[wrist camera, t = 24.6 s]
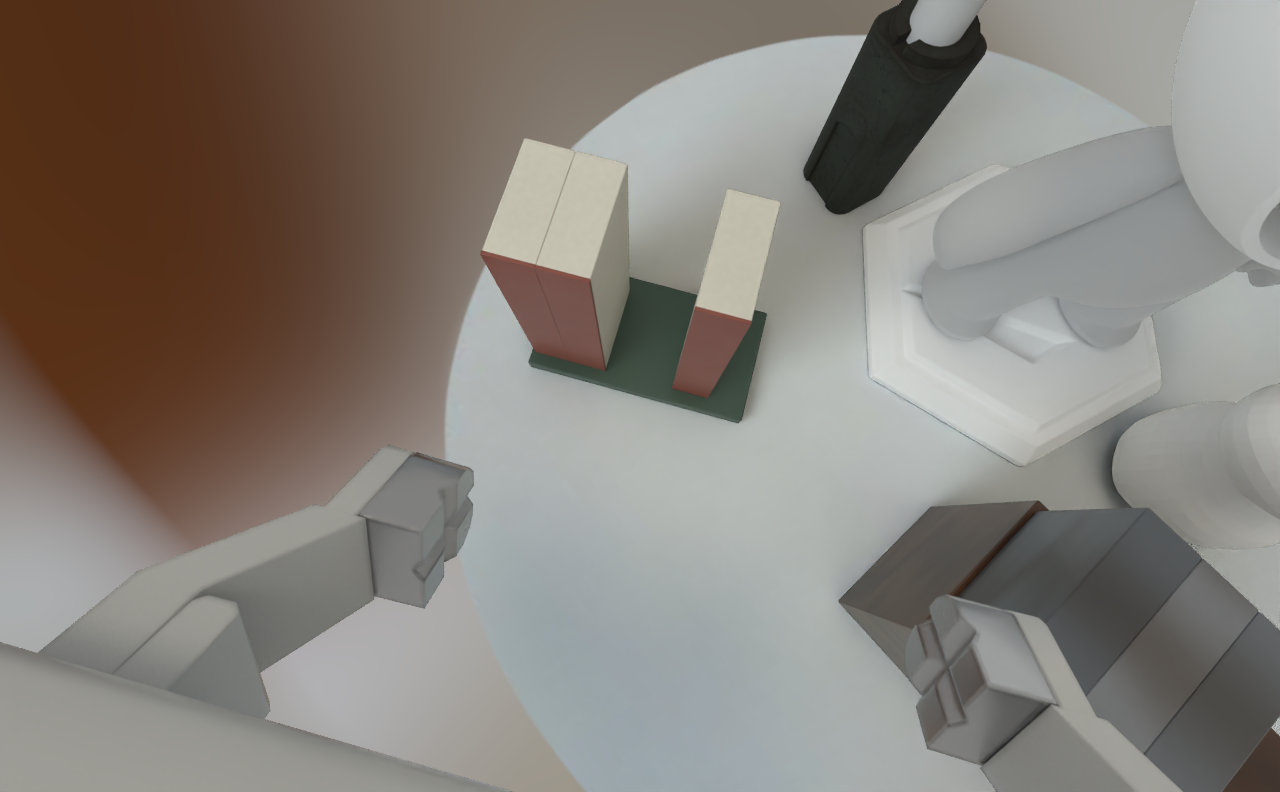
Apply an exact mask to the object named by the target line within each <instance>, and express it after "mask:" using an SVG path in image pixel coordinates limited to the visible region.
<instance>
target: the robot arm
mask: <svg viewBox="0 0 1280 792" xmlns="http://www.w3.org/2000/svg"><path fill="white" fill-rule="evenodd" d="M473 486H474V471H473V470H472V469H471V468H469V467H465V466H462V465H458V464H455V463H452V462H448V461H445V460H441V459H438V458H435V457H431V456H428V455H424V454H421V453H415V452H412V451H408V450H405V449H401V448H398V447H395V446H391V445H388V446H386V447H383V448H381V449H380V450H379V451H378V452H377V453H376V454H375V455H374V456H373V457H372V458H371V459H370V460H369V461H368V462H367V463H366V464H365V465H364V466H363V467H362V468H361V469H360V470H359V471H358V472H357V473H356V474H355V475H354V476H353V478H351V480H349V481H348V482H347V484H346V485H345V486H344V487H343V488H342V489H341V490H340V491H339V492H338V493H337V494H336V495H335V496H334V497H333V498H332V499H331V500H330V501H329V502H328V503H327V504H326V505H325V506H320V505H316V504H315V505H312V506H310V507H307V508H304V509H302V510H299V511H297V512H294V513H291V514H288V515H286V516H283V517H280V518H278V519H275V520H272V521H270V522H267V523H265V524H262V525H259V526H256V527H254V528H252V529H249V530H246V531H243V532H240V533H238V534H235V535H232V536H230V537H227V538H224V539H222V540H219V541H216V542H214V543H211V544H208V545H206V546H203V547H200V548H198V549H195V550H193V551H190V552H187V553H185V554H182V555H179V556H177V557H174V558H171V559H169V560H166V561H163V562H161V563H158V564H155V565H153V566H150V567H147V568H145V569H142V570H140V571H137V572H136V573H135V574H133V575H132V576H131V577H130V578H128V579H127V580H126V581H125V582H124V583H122V584H121V585H120V586H119V587H117V588H116V589H115V590H114V591H113V592H111V593H110V594H109V595H108V596H107V597H105V598H104V599H103V600H102V601H100V602H99V603H98V604H97V605H96V606H94V607H93V608H92V609H91V610H89V611H88V612H87V613H86V614H85V615H83V616H82V617H81V618H80V619H78V620H77V621H76V622H75V623H74V624H72V625H71V626H70V627H69V628H67V629H66V630H65V631H64V632H63V633H61V634H60V635H59V636H58V637H56V638H55V639H54V640H53V641H52V642H50V643H49V644H48V645H47V646H46V647H44V648H43V649H42V650H41V651H39V652H38V653H35V652H32V651H29V650H25V649H22V648H19V647H15V646H12V645H8V644H4V643H2V642H0V792H513V791H509V790H506V789H503V788H499V787H496V786H492V785H489V784H486V783H482V782H479V781H475V780H471V779H468V778H465V777H461V776H458V775H455V774H451V773H448V772H444V771H441V770H437V769H434V768H431V767H427V766H424V765H420V764H417V763H413V762H410V761H406V760H403V759H400V758H396V757H392V756H389V755H386V754H382V753H379V752H376V751H372V750H369V749H365V748H362V747H358V746H355V745H352V744H348V743H344V742H341V741H338V740H334V739H331V738H328V737H324V736H321V735H317V734H313V733H310V732H307V731H303V730H300V729H297V728H293V727H290V726H286V725H283V724H280V723H276V722H273V721H269V720H266V719H265V717H266V716H267V714H268V713H269V712H270V704H269V698H268V695H267V693H266V690H265V687H264V684H263V680H262V677H261V675H260V672H262V671H263V670H265V669H266V668H268V667H269V666H271V665H273V664H274V663H276V662H277V661H279V660H281V659H282V658H283V657H285V656H287V655H288V654H290V653H291V652H293V651H295V650H296V649H298V648H299V647H301V646H302V645H304V644H305V643H307V642H309V641H310V640H312V639H313V638H315V637H316V636H318V635H319V634H321V633H322V632H324V631H326V630H327V629H329V628H330V627H332V626H334V625H335V624H337V623H338V622H340V621H341V620H343V619H344V618H346V617H347V616H349V615H351V614H352V613H354V612H355V611H357V610H358V609H360V608H362V607H363V606H365V605H366V604H368V603H369V602H371V601H372V600H374V596H376V597H380V598H384V599H388V600H392V601H396V602H400V603H404V604H408V605H412V606H416V607H420V608H425V607H426V605H427V604H428V602H429V600H430V599H431V597H432V595H433V594H434V592H435V590H436V589H437V587H438V586H439V584H440V582H441V581H442V579H443V577H444V562H446V561H448V560H449V559H451V558H453V557H455V556H457V554H458V552H459V550H460V549H461V547H462V545H463V543H464V541H465V539H466V536H467V533H468V531H469V528H470V524H471V519H472V515H473V504H472V502H471V501H470V499H469V498H468V496H467V495H468V494H469V492H470V491H471V489H472V487H473ZM929 610H930V613H931V617H932V618H930V619H927V620H925V621H922V622H919V623H917V624H916V625H915V627H914V628H913V630H912V631H911V633H910V634H909V636H908V639H907V643H906V648H905V666H906V670H907V674H908V678H909V681H910V682H911V683H912V684H913V686H914V687H915V688H916V689H917V691H918V692H919V693H920V694H921V695H922V696H921V698H920V700H919V702H918V704H917V705H916V709H917V713H918V716H919V720H920V724H921V727H922V731H923V735H924V739H925V742H926V746H927V749H930V750H933V751H936V752H939V753H943V754H946V755H949V756H952V757H956V758H959V759H962V760H965V761H969V762H972V763H975V764H978V765H982V767H981V770H982V771H983V773H984V774H985V775H986V777H987V778H988V780H989V781H990V783H991V784H992V785H993V787H994V788H995V790H996V791H997V792H1183V791H1182V790H1181V789H1180V788H1179V787H1178V786H1177V785H1176V784H1174V783H1173V782H1172V781H1171V780H1170V779H1169V778H1168V777H1167V776H1166V775H1165V774H1164V773H1163V772H1162V771H1161V770H1160V769H1159V768H1158V767H1156V766H1155V765H1154V764H1153V763H1152V762H1151V761H1150V760H1149V759H1148V758H1147V757H1146V756H1145V755H1144V754H1143V753H1142V752H1141V751H1139V750H1138V749H1137V748H1136V747H1135V746H1134V745H1133V744H1132V743H1131V742H1130V741H1129V740H1128V739H1127V738H1126V737H1125V736H1124V735H1122V734H1121V733H1120V732H1119V731H1118V730H1117V729H1116V728H1115V727H1114V726H1113V725H1112V724H1111V723H1110V722H1109V721H1108V720H1105V719H1102V718H1098V717H1097V716H1096V715H1095V713H1094V711H1093V709H1092V707H1091V705H1090V704H1089V702H1088V700H1087V698H1086V696H1085V694H1084V692H1083V691H1082V689H1081V687H1080V685H1079V683H1078V681H1077V680H1076V678H1075V676H1074V674H1073V672H1072V670H1071V669H1070V667H1069V665H1068V663H1067V661H1066V659H1065V657H1064V656H1063V654H1062V652H1061V650H1060V648H1059V646H1058V645H1057V643H1056V641H1055V639H1054V637H1053V635H1052V633H1051V632H1050V630H1049V628H1048V626H1047V625H1046V624H1045V623H1044V622H1043V621H1042V620H1041V619H1039V618H1038V617H1034V616H1030V615H1026V614H1022V613H1018V612H1014V611H1010V610H1004V609H1001V608H998V607H994V606H990V605H986V604H982V603H978V602H974V601H970V600H967V599H963V598H959V597H955V596H951V595H947V594H943V595H941V596H939V597H937V598H936V599H935V600H934V601H933V603H932V604H931V605H930V606H929Z"/></svg>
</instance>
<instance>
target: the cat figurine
mask: <svg viewBox="0 0 1280 792" xmlns="http://www.w3.org/2000/svg"><path fill="white" fill-rule="evenodd" d="M1112 475H1113V482H1114V484H1115V487H1116V489H1117V491H1118V493H1119V494H1120V495H1121V496H1122V497H1123V499H1124V500H1125V501H1126V502H1127V503H1128V504H1129V505H1130V506H1131V507H1133V508H1150V509H1151V510H1152V511H1153V512H1154V513H1155V514H1156V515H1158V516H1159V517H1160V518H1161V519H1162V520H1163V521H1164V522H1165V523H1166V524H1167V525H1168V526H1169V527H1170V528H1171V529H1172V530H1174V531H1175V532H1176V533H1177V534H1178V535H1179V536H1180V537H1181V538H1182V539H1183V540H1184V541H1185V542H1188V543H1191V544H1195V545H1199V546H1203V547H1209V548H1225V549H1245V548H1258V547H1267V546H1271V545H1275V544H1278V543H1280V383H1278V384H1275V385H1271V386H1267V387H1265V388H1262V389H1260V390H1258V391H1256V392H1254V393H1252V394H1250V395H1249V396H1247V397H1245V398H1244V399H1242V400H1241V401H1239V402H1238V403H1236V402H1227V401H1218V402H1202V403H1194V404H1189V405H1185V406H1180V407H1176V408H1171V409H1167V410H1163V411H1160V412H1157V413H1155V414H1152V415H1150V416H1147V417H1145V418H1143V419H1141V420H1139V421H1137V422H1135V423H1134V424H1133V425H1132V426H1130V427H1129V428H1128V429H1127V430H1126V431H1125V432H1124V433H1123V434H1122V436H1121V437H1120V439H1119V441H1118V443H1117V446H1116V449H1115V453H1114V457H1113V464H1112Z"/></svg>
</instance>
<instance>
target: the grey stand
mask: <svg viewBox="0 0 1280 792" xmlns="http://www.w3.org/2000/svg"><path fill="white" fill-rule="evenodd" d="M1201 558H1202V557H1201V556H1200V555H1199V554H1198V553H1197V552H1196V551H1195V550H1194V549H1193V548H1192V547H1191V546H1189V545H1188V544H1187V543H1186V542H1185V541H1184V540H1183V539H1182V538H1181V537H1180V536H1179V535H1178V534H1177V533H1176V532H1175V531H1174V530H1172V529H1171V528H1170V527H1169V526H1168V525H1167V524H1166V523H1165V522H1164V521H1163V520H1162V519H1161V518H1160V517H1159V516H1158V515H1156V514H1155V513H1154V512H1153V511H1152V510H1151V509H1150V508H1120V509H1090V510H1060V511H1049V510H1048V509H1047V508H1046V507H1045V506H1044V505H1043V504H1042V503H1041V502H1040V501H1022V502H1005V503H989V504H972V505H955V506H938V507H930V508H929V509H928V510H927V511H926V512H925V513H924V515H923V516H922V517H921V518H920V519H919V520H918V521H917V522H916V523H915V524H914V525H913V526H912V527H911V528H910V529H909V530H908V531H907V532H906V533H905V534H904V535H903V536H902V537H901V538H900V539H899V540H898V541H897V542H896V543H895V544H894V545H893V546H892V547H891V548H890V549H889V550H888V551H887V552H886V553H885V554H884V555H883V556H882V557H881V558H880V559H879V560H878V561H877V562H876V563H875V564H874V565H873V566H872V567H871V568H870V569H869V570H868V571H867V572H866V573H865V574H864V575H863V576H862V577H861V578H860V580H859V581H858V582H857V583H856V584H855V585H854V586H853V587H852V588H851V589H850V590H849V591H848V592H847V593H846V594H845V595H844V596H843V597H842V598H841V599H840V600H839V603H840V604H841V605H842V606H843V607H844V608H845V609H846V611H847V612H848V613H849V614H850V615H851V616H852V617H853V618H854V619H855V620H856V622H857V623H858V624H859V625H860V626H861V627H862V628H863V629H864V630H865V631H866V633H867V634H868V635H869V636H870V637H871V638H872V639H873V640H874V641H875V642H876V644H877V645H878V646H879V647H880V648H881V649H882V650H883V651H884V652H885V653H886V655H887V656H888V657H889V658H890V659H891V660H892V661H893V662H894V663H895V664H896V666H897V667H898V668H899V669H900V670H901V671H902V672H903V673H904V674H905V675H906V677H907V678H908V674H907V670H906V666H905V648H906V643H907V639H908V636H909V634H910V633H911V631H912V630H913V628H914V627H915V625H916V624H917V623H919V622H922V621H925V620H927V619H930V618H932V617H931V613H930V610H929V606H930V605H931V604H932V603H933V601H934V600H935V599H936V598H937V597H939V596H941V595H943V594H947V595H951V596H955V597H959V598H963V599H967V600H970V601H974V602H978V603H982V604H986V605H990V606H994V607H998V608H1001V609H1004V610H1010V611H1014V612H1018V613H1022V614H1026V615H1030V616H1034V617H1038V618H1039V619H1041V620H1042V621H1043V622H1044V623H1045V624H1046V625H1047V626H1048V628H1049V630H1050V632H1051V633H1052V635H1053V637H1054V639H1055V641H1056V643H1057V645H1058V646H1059V648H1060V650H1061V652H1062V654H1063V656H1064V657H1065V659H1066V661H1067V663H1068V665H1069V667H1070V669H1071V670H1072V672H1073V674H1074V676H1075V678H1076V680H1077V681H1078V683H1079V685H1080V687H1081V689H1082V691H1083V692H1084V694H1085V696H1086V698H1087V700H1088V702H1089V704H1090V705H1091V707H1092V709H1093V711H1094V713H1095V715H1096V716H1097V717H1098V718H1102V719H1105V720H1108V721H1109V722H1110V723H1111V724H1112V725H1113V726H1114V727H1115V728H1116V729H1117V730H1118V731H1119V732H1120V733H1121V734H1122V735H1124V736H1125V737H1126V738H1127V739H1128V740H1129V741H1130V742H1131V743H1132V744H1133V745H1134V746H1135V747H1136V748H1137V749H1138V750H1139V751H1141V752H1142V753H1143V754H1144V755H1145V756H1146V757H1147V758H1148V759H1149V760H1150V761H1151V762H1152V763H1153V764H1154V765H1155V766H1156V767H1158V768H1159V769H1160V770H1161V771H1162V772H1163V773H1164V774H1165V775H1166V776H1167V777H1168V778H1169V779H1170V780H1171V781H1172V782H1173V783H1174V784H1176V785H1177V786H1178V787H1179V788H1180V789H1181V790H1182V791H1183V792H1280V736H1279V735H1278V734H1277V733H1276V732H1275V731H1274V730H1273V729H1272V728H1271V727H1272V726H1273V724H1274V723H1275V722H1276V721H1277V719H1278V718H1279V717H1280V630H1279V629H1278V628H1277V627H1275V626H1274V625H1273V624H1272V623H1271V622H1270V621H1269V620H1268V619H1267V618H1266V617H1265V616H1264V615H1263V614H1262V613H1260V612H1258V610H1257V609H1256V608H1255V607H1254V606H1253V605H1252V604H1251V603H1250V602H1249V601H1248V600H1247V599H1246V598H1245V597H1244V596H1243V595H1241V594H1240V593H1239V592H1238V591H1237V590H1236V589H1235V588H1234V587H1233V586H1232V585H1231V584H1230V583H1229V582H1228V581H1227V580H1226V579H1224V578H1223V577H1222V576H1221V575H1220V574H1219V573H1218V572H1217V571H1216V570H1215V569H1214V568H1213V567H1212V566H1211V565H1210V564H1208V563H1207V562H1206V561H1205V560H1204V559H1201ZM908 679H909V678H908Z"/></svg>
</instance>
